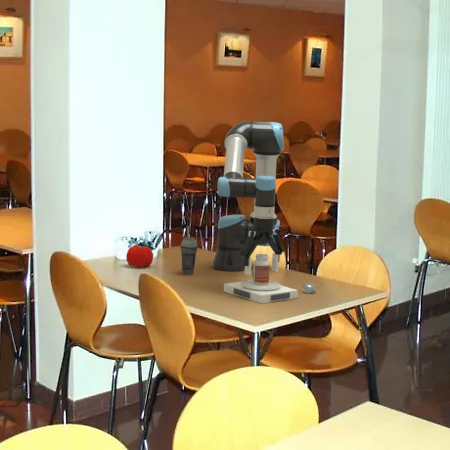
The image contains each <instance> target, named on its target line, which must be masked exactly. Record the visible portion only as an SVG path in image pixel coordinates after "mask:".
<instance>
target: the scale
mask: <svg viewBox="0 0 450 450" xmlns="http://www.w3.org/2000/svg"><path fill="white" fill-rule="evenodd" d="M223 292H225V293H228V294H231V295H234V296H237V297H239V298H243V299H245V300H249V301H252V302H255V303H258V304H262V305H263V304H268V303H274V302H281V301H287V300H294V299H298V295H299V294H298V293H299V290H298V289H294V288H291V287H287V286H284V285H282V284H281V283H280V282H277V281H273V280H269V284H267V285H256V284H253V279H247V280H246V279H245V280H242V281H235V282H227V283H224V284H223Z"/></svg>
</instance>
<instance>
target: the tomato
mask: <svg viewBox="0 0 450 450" xmlns="http://www.w3.org/2000/svg"><path fill="white" fill-rule="evenodd" d="M125 257H126V259H125V260H126V263H127V264H128V265H129V266H130V267H135V268H138V269H141V268H148V267H149V266H151V264H153V261H154V253H153V250H152V249H151V248H150V247H148V246H143V245H142V246H140V245H137V244H134V245H132V246H130V247H129V248H128V250H127V253H126V256H125Z"/></svg>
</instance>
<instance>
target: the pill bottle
mask: <svg viewBox="0 0 450 450" xmlns="http://www.w3.org/2000/svg"><path fill="white" fill-rule="evenodd" d="M268 259H269V255H268V254H264V253H257V254H255V260H254V261H253V263H252V264H253V267H252V268H253V269H252V270H253V271H252V280H253V284H256V285H267V284H269V281H270V261H269V260H268Z"/></svg>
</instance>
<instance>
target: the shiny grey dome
mask: <svg viewBox="0 0 450 450" xmlns="http://www.w3.org/2000/svg"><path fill="white" fill-rule="evenodd" d="M316 288H317V286H316V284H314V283H303V284H302V293H303V294H307V295H311V294H312V295H314V294H316V292H317V289H316ZM313 293H314V294H313Z"/></svg>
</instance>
